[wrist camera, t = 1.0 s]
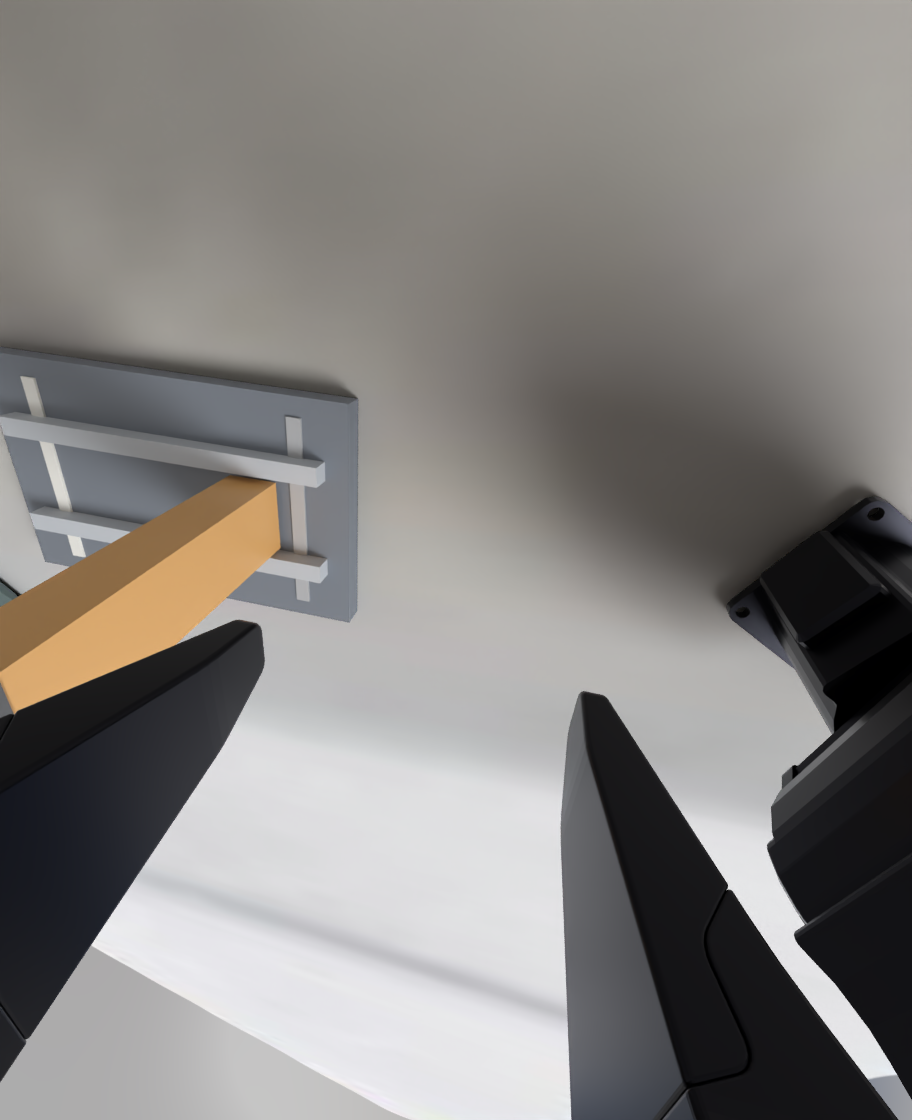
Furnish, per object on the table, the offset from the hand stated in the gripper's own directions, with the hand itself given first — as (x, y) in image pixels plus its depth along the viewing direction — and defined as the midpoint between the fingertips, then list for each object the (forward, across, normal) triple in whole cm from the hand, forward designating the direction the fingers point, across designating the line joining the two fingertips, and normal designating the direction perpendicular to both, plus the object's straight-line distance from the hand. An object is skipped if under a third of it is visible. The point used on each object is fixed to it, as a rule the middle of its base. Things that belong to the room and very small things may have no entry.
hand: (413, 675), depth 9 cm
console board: (+13, +14, +4) cm, 19 cm away
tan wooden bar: (+12, +10, +4) cm, 16 cm away
